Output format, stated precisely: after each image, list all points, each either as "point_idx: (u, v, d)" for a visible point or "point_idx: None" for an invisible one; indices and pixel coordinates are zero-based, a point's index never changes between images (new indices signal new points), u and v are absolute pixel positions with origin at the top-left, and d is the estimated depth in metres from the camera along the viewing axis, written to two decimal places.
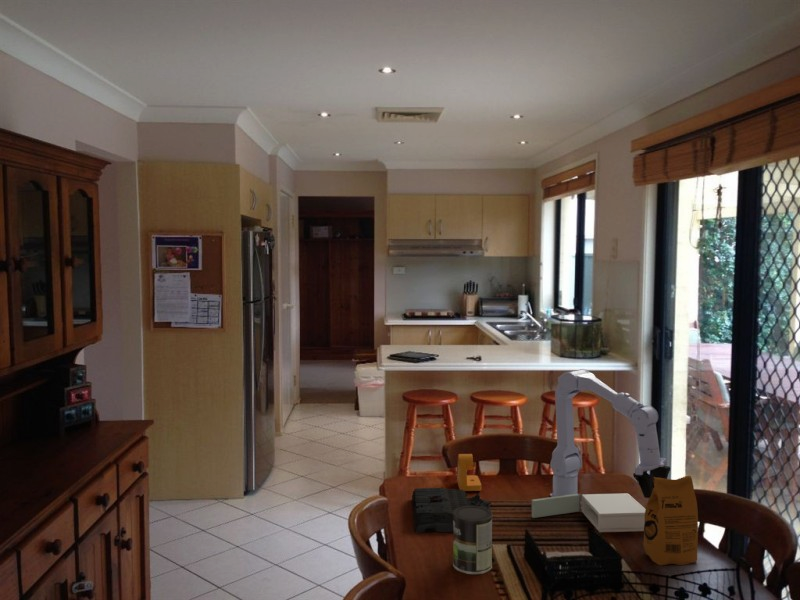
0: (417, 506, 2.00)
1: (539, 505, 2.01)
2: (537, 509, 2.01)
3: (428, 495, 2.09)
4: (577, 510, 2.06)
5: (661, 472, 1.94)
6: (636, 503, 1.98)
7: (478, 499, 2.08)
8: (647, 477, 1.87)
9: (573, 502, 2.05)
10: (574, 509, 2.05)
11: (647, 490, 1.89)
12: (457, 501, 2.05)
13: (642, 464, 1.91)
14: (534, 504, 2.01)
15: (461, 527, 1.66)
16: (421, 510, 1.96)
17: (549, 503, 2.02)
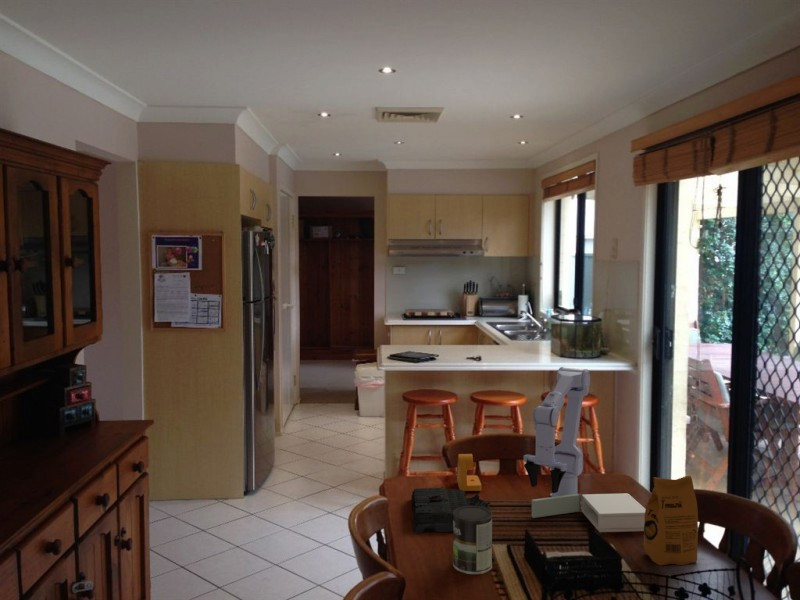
0: (416, 506, 2.00)
1: (539, 505, 2.01)
2: (537, 509, 2.01)
3: (427, 495, 2.09)
4: (577, 510, 2.06)
5: None
6: (636, 503, 1.98)
7: (477, 499, 2.08)
8: None
9: (573, 502, 2.05)
10: (574, 509, 2.05)
11: None
12: (456, 501, 2.05)
13: None
14: (534, 504, 2.01)
15: (461, 527, 1.66)
16: (420, 510, 1.96)
17: (549, 503, 2.02)
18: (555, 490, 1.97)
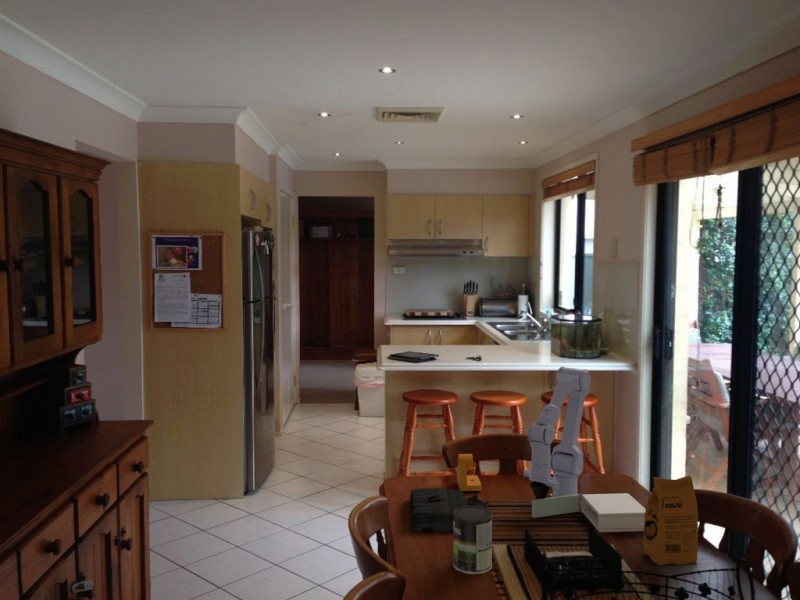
0: (414, 506, 2.00)
1: (539, 505, 2.01)
2: (537, 509, 2.01)
3: (426, 495, 2.09)
4: (577, 510, 2.06)
5: None
6: (636, 503, 1.98)
7: (476, 499, 2.08)
8: None
9: (573, 502, 2.05)
10: (574, 509, 2.05)
11: None
12: (455, 501, 2.05)
13: None
14: (534, 504, 2.01)
15: (461, 527, 1.66)
16: (418, 510, 1.96)
17: (549, 503, 2.02)
18: None
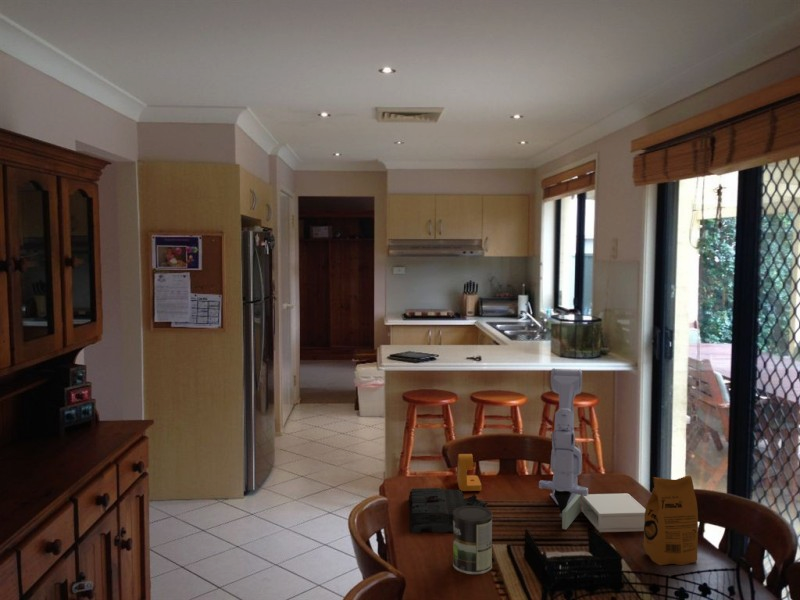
0: (413, 506, 2.00)
1: (568, 515, 1.94)
2: (567, 519, 1.93)
3: (425, 495, 2.09)
4: (580, 510, 2.05)
5: None
6: (636, 503, 1.98)
7: (475, 499, 2.08)
8: None
9: (579, 503, 2.04)
10: (579, 510, 2.04)
11: None
12: (453, 501, 2.05)
13: None
14: (566, 515, 1.92)
15: (461, 527, 1.66)
16: (417, 510, 1.96)
17: (571, 510, 1.97)
18: None
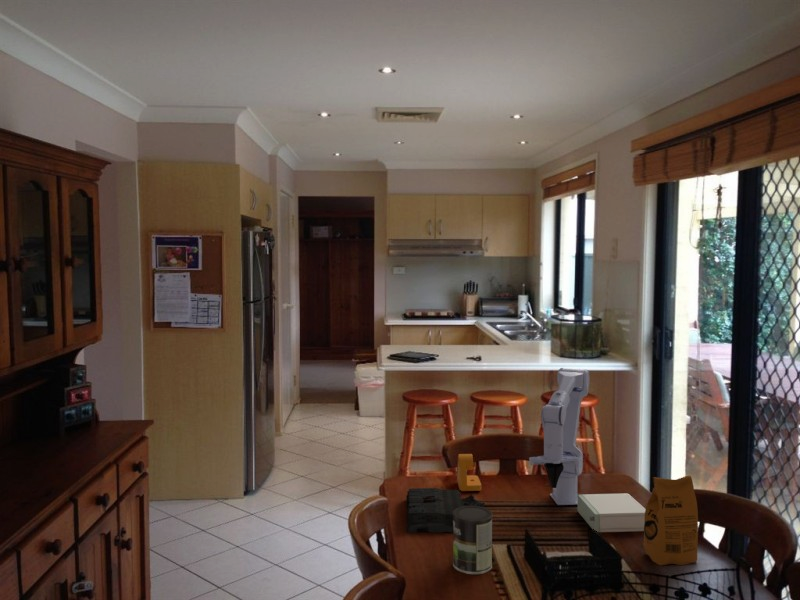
0: (410, 506, 2.00)
1: None
2: None
3: (422, 495, 2.09)
4: None
5: None
6: (636, 503, 1.98)
7: (472, 500, 2.08)
8: (547, 468, 2.00)
9: None
10: None
11: (551, 480, 2.02)
12: (450, 501, 2.04)
13: (543, 456, 2.03)
14: (598, 517, 1.90)
15: (461, 527, 1.66)
16: (413, 510, 1.96)
17: None
18: None
